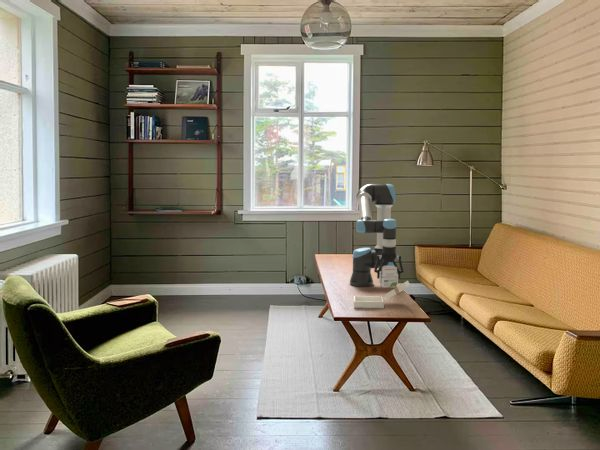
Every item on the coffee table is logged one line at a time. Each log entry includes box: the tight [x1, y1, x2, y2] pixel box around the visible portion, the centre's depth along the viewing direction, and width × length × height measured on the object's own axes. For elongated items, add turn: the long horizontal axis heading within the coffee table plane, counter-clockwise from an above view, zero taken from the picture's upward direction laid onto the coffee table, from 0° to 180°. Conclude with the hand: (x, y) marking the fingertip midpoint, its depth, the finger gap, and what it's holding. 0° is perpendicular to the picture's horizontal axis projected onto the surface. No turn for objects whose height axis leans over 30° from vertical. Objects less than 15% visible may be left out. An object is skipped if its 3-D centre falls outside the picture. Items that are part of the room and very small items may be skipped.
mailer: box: [353, 295, 385, 310], centre depth 348 cm, size 12×16×4 cm
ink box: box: [380, 265, 398, 288], centre depth 359 cm, size 8×5×12 cm, turn 101°
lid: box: [383, 280, 411, 302], centre depth 346 cm, size 12×16×1 cm
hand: (388, 284), depth 360 cm, fingers closed on ink box, 9 cm apart
